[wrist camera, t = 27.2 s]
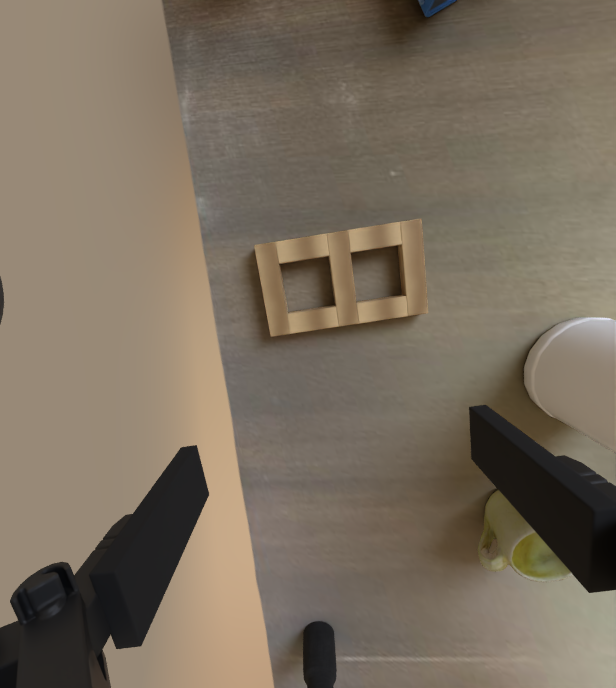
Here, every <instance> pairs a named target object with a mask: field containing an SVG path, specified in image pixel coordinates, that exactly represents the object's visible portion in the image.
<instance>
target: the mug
mask: <svg viewBox="0 0 616 688" xmlns="http://www.w3.org/2000/svg"><path fill="white" fill-rule="evenodd" d="M493 539H496V540H497V548H496V550H495V551H494V552H493V553H492V554H489V552H488V550H489V548H490V546H491V543H492V541H493ZM478 555H479V559H480V562H481V564H482V566H484V568H485V569H487V570H489V571H495V572H496V571H502V570H504V569H505V568H506V567H507V565H510V566H511V567H512V568H513V569H514V570H515V571H516V572H517V573H518V574H519V575H521V576H523V577H525V578H527V579H529V580H532V581H536V582H552V581H560V580H563V579H565V578H568V577H570V576H572V575H573V574H572V573H571V572H570V571H569V569H568V568H567V567H566V566H565V565H564V564H563V563H562V561H561V560H560V559H559V558H558V557H557V556H556V555H555V553H554V552H553V551H552V550H551V549H550V548H549V547H548V546H547V544H546V543H545V542H544V541H543V540H542V539H541V538H540V536H539V535H538V534H537V533H536V532H535V531H534V530H533V528H532V527H531V526H530V525H529V524H528V523H527V522H526V520H525V519H524V518H523V517H522V516H521V515H520V514H519V513H518V511H517V510H516V509H515V508H514V507H513V506H512V505H511V503H510V502H509V501H508V500H507V499H506V498H505V497H504V495H503V494H502V493H501V492H500V491H499V490H497V491H496V492H494V493H493V494H492V495H491V496H490V498H489V500H488V502H487V504H486V507H485V516H484V531H483V533H482V535H481V538H480V543H479V545H478Z"/></svg>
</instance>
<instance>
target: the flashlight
mask: <svg viewBox="0 0 616 688" xmlns="http://www.w3.org/2000/svg"><path fill="white" fill-rule="evenodd" d="M303 673H304V681H305V683H306V684H307V688H333V685H334V683H335V681H336V655H335V641H334V631H333V628H332V627H331V626H330V625H329V624H327V623H325V622H313V623H311V624H309V625H308V626H307V627H306V628H305V630H304V636H303Z"/></svg>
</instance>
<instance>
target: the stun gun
mask: <svg viewBox="0 0 616 688" xmlns="http://www.w3.org/2000/svg"><path fill="white" fill-rule="evenodd" d="M455 1H457V0H418V2H419V4H420V5H421V8H422V10H423V13H424V15H425V16H426V17H430V16H432V15H433V14H435V13H437V12H438V11H440V10H442V9H443V8H445V7H447V6H448V5H450V4H452V3H453V2H455Z"/></svg>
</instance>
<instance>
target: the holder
mask: <svg viewBox="0 0 616 688" xmlns="http://www.w3.org/2000/svg"><path fill="white" fill-rule="evenodd" d="M392 246H397V247H398V258H399V270H400V281H401V293H402V295H397V296H390V297H384V298H377V299H371V300H364V301H358V302H356V295H355V286H354V278H353V270H352V261H351V253H354V252H360V251H367V250H373V249H379V248H386V247H392ZM254 248H255V254H256V259H257V265H258V270H259V276H260V281H261V287H262V292H263V298H264V303H265V308H266V314H267V319H268V325H269V330H270V336H271V337H273V336H280V335H286V334H290V333H291V334H293V333H300V332H306V331H313V330H319V329H326V328H333V327H338V326H346V325H353V324H358V323H366V322H373V321H379V320H386V319H393V318H399V317H406V316H412V315H419V314H426V313H428V303H427V288H426V274H425V260H424V245H423V231H422V219H421V218H420V219H414V220H408V221H402V222H395V223H389V224H383V225H376V226H370V227H364V228H358V229H352V230H346V231H339V232H333V233H327V234H321V235H314V236H308V237H302V238H296V239H289V240H283V241H277V242H271V243H264V244H258V245H254ZM322 257H328V258H329V265H330V273H331V280H332V288H333V295H334V303H335V305H331V306H325V307H318V308H312V309H305V310H299V311H292V312H288V308H287V302H286V296H285V290H284V284H283V278H282V272H281V266H280V264H284V263H291V262H297V261H303V260H310V259H316V258H322Z"/></svg>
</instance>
